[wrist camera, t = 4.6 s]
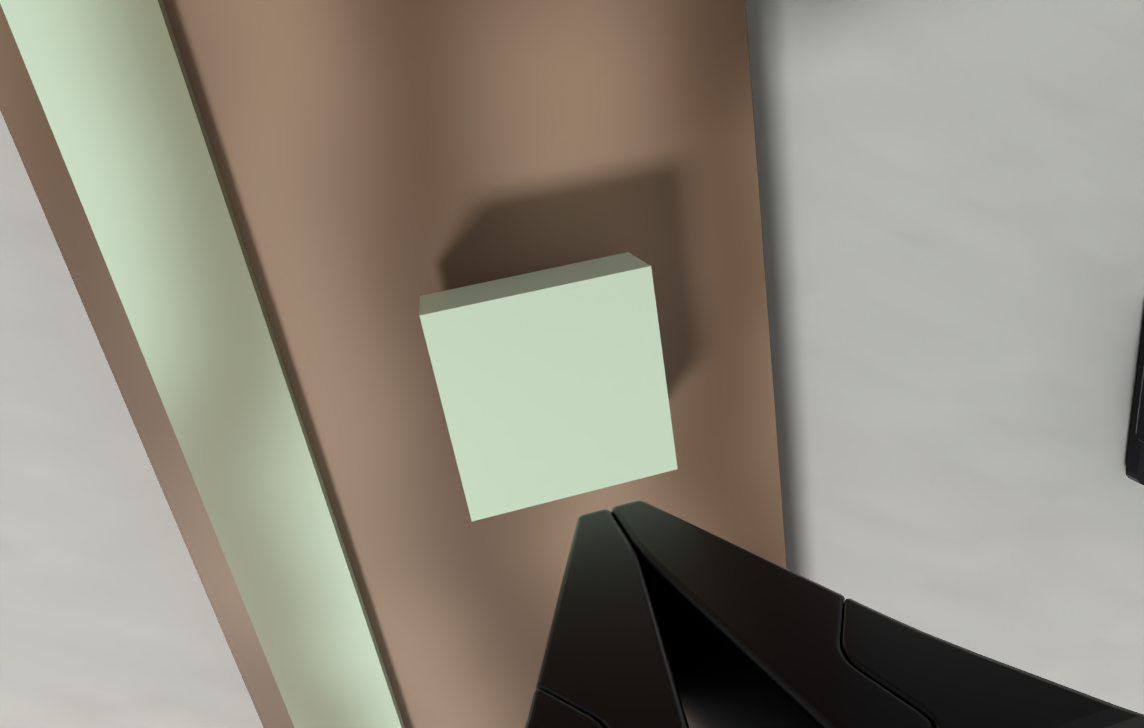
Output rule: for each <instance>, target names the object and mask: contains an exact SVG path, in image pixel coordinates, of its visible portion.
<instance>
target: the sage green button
mask: <svg viewBox="0 0 1144 728" xmlns="http://www.w3.org/2000/svg"><path fill="white" fill-rule="evenodd" d="M419 316H420V320H421V324H422V328H423V332H424V336H425V340H426V344H427V348H428V352H429V355H430V359H431V363H432V367H433V371H434V375H435V379H436V383H437V387H438V391H439V395H440V399H441V403H442V407H443V410H444V414H445V418H446V422H447V426H448V430H449V434H450V438H451V442H452V446H453V450H454V454H455V458H456V462H457V465H458V469H459V473H460V477H461V481H462V485H463V489H464V493H465V497H466V501H467V505H468V509H469V513H470V517H471V521H476V520H480V519H484V518H488V517H492V516H496V515H500V514H504V513H507V512H511V511H515V510H519V509H523V508H527V507H531V506H535V505H539V504H543V503H547V502H551V501H555V500H558V499H562V498H566V497H570V496H574V495H578V494H582V493H586V492H590V491H594V490H598V489H602V488H606V487H609V486H613V485H617V484H621V483H625V482H629V481H633V480H637V479H641V478H645V477H649V476H653V475H657V474H660V473H664V472H668V471H672V470H676V469H678V468H677V460H676V453H675V445H674V437H673V430H672V422H671V414H670V407H669V399H668V391H667V384H666V376H665V368H664V361H663V353H662V346H661V338H660V330H659V323H658V315H657V307H656V300H655V292H654V284H653V277H652V269H651V266H650V265H649V264H647V263H645V262H644V261H642V260H640V259H639V258H637V257H636V256H634V255H632V254H631V253H629V252H626V253H621V254H616V255H612V256H607V257H602V258H597V259H593V260H588V261H583V262H578V263H574V264H569V265H564V266H559V267H555V268H550V269H545V270H540V271H536V272H531V273H526V274H521V275H517V276H512V277H507V278H502V279H498V280H493V281H488V282H484V283H479V284H474V285H469V286H465V287H460V288H455V289H450V290H446V291H441V292H436V293H431V294H427V295H422V296H420V310H419Z"/></svg>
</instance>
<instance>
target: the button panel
mask: <svg viewBox="0 0 1144 728" xmlns="http://www.w3.org/2000/svg"><path fill="white" fill-rule="evenodd" d="M0 110H1V113H2V115H3V117H4V120H5V122H6V124H7V127H8V129H9V131H10V134H11V136H12V138H13V141H14V143H15V145H16V148H17V150H18V152H19V155H20V157H21V159H22V162H23V164H24V166H25V169H26V171H27V174H28V176H29V178H30V181H31V183H32V185H33V188H34V190H35V192H36V195H37V197H38V199H39V202H40V204H41V206H42V209H43V211H44V213H45V216H46V218H47V220H48V223H49V225H50V227H51V230H52V232H53V234H54V237H55V239H56V242H57V244H58V246H59V249H60V251H61V253H62V256H63V258H64V260H65V263H66V265H67V267H68V270H69V272H70V274H71V277H72V279H73V281H74V284H75V286H76V288H77V291H78V293H79V295H80V298H81V300H82V302H83V305H84V307H85V310H86V312H87V314H88V317H89V319H90V321H91V324H92V326H93V328H94V331H95V333H96V335H97V338H98V340H99V342H100V345H101V347H102V349H103V352H104V354H105V356H106V359H107V361H108V363H109V366H110V368H111V370H112V373H113V375H114V378H115V380H116V382H117V385H118V387H119V389H120V392H121V394H122V396H123V399H124V401H125V403H126V406H127V408H128V410H129V413H130V415H131V417H132V420H133V422H134V424H135V427H136V429H137V431H138V434H139V436H140V439H141V441H142V443H143V446H144V448H145V450H146V453H147V455H148V457H149V460H150V462H151V464H152V467H153V469H154V471H155V474H156V476H157V478H158V481H159V483H160V485H161V488H162V490H163V492H164V495H165V497H166V499H167V502H168V504H169V507H170V509H171V511H172V514H173V516H174V518H175V521H176V523H177V525H178V528H179V530H180V532H181V535H182V537H183V539H184V542H185V544H186V546H187V549H188V551H189V553H190V556H191V558H192V560H193V563H194V565H195V567H196V570H197V572H198V575H199V577H200V579H201V582H202V584H203V586H204V589H205V591H206V593H207V596H208V598H209V600H210V603H211V605H212V607H213V610H214V612H215V614H216V617H217V619H218V621H219V624H220V626H221V628H222V631H223V633H224V635H225V638H226V640H227V643H228V645H229V647H230V650H231V652H232V654H233V657H234V659H235V661H236V664H237V666H238V668H239V671H240V673H241V675H242V678H243V680H244V682H245V685H246V687H247V689H248V692H249V694H250V696H251V699H252V701H253V703H254V706H255V708H256V711H257V713H258V715H259V718H260V720H261V722H262V725H263V727H264V728H525V724H526V721H527V717H528V713H529V709H530V705H531V702H532V698H533V694H534V692H535V691H536V683H537V679H538V675H539V671H540V667H541V663H542V659H543V655H544V651H545V647H546V643H547V639H548V635H549V631H550V627H551V623H552V619H553V615H554V611H555V607H556V603H557V599H558V595H559V591H560V587H561V583H562V579H563V575H564V571H565V567H566V563H567V559H568V555H569V551H570V547H571V543H572V539H573V535H574V531H575V527H576V523H577V520H578V518H579V517H580V516H581V515H583V514H587V513H591V512H595V511H599V510H602V509H607V510H609V511H610V512H611V510H612V508H613V507H615V506H618V505H621V504H625V503H629V502H633V501H637V500H641V501H644V502H646V503H648V504H651V505H653V506H655V507H657V508H659V509H661V510H663V511H665V512H667V513H670V514H672V515H674V516H676V517H678V518H680V519H682V520H684V521H686V522H689V523H691V524H693V525H695V526H697V527H699V528H701V529H703V530H705V531H708V532H710V533H712V534H714V535H716V536H718V537H720V538H722V539H724V540H727V541H729V542H731V543H733V544H735V545H737V546H739V547H741V548H744V549H746V550H748V551H750V552H752V553H754V554H756V555H758V556H760V557H763V558H765V559H767V560H769V561H771V562H773V563H775V564H777V565H779V566H782V567H784V568H786V569H787V567H786V553H785V539H784V526H783V512H782V498H781V485H780V471H779V458H778V444H777V430H776V417H775V403H774V389H773V376H772V362H771V349H770V335H769V321H768V308H767V294H766V280H765V267H764V253H763V240H762V226H761V212H760V199H759V185H758V171H757V158H756V144H755V131H754V117H753V103H752V90H751V76H750V62H749V49H748V35H747V22H746V8H745V0H0ZM626 252H629V253H631V254H632V255H634V256H636V257H637V258H639V259H640V260H642V261H644V262H645V263H647V264H649V265H650V266H651V269H652V277H653V284H654V292H655V300H656V307H657V315H658V323H659V330H660V338H661V346H662V353H663V361H664V368H665V376H666V384H667V391H668V399H669V407H670V414H671V422H672V430H673V437H674V445H675V453H676V460H677V468H678V469H676V470H672V471H668V472H664V473H660V474H657V475H653V476H649V477H645V478H641V479H637V480H633V481H629V482H625V483H621V484H617V485H613V486H609V487H606V488H602V489H598V490H594V491H590V492H586V493H582V494H578V495H574V496H570V497H566V498H562V499H558V500H555V501H551V502H547V503H543V504H539V505H535V506H531V507H527V508H523V509H519V510H515V511H511V512H507V513H504V514H500V515H496V516H492V517H488V518H484V519H480V520H476V521H471V517H470V513H469V509H468V505H467V501H466V497H465V493H464V489H463V485H462V481H461V477H460V473H459V469H458V465H457V462H456V458H455V454H454V450H453V446H452V442H451V438H450V434H449V430H448V426H447V422H446V418H445V414H444V410H443V407H442V403H441V399H440V395H439V391H438V387H437V383H436V379H435V375H434V371H433V367H432V363H431V359H430V355H429V352H428V348H427V344H426V340H425V336H424V332H423V328H422V324H421V320H420V316H419V310H420V296H422V295H427V294H431V293H436V292H441V291H446V290H450V289H455V288H460V287H465V286H469V285H474V284H479V283H484V282H488V281H493V280H498V279H502V278H507V277H512V276H517V275H521V274H526V273H531V272H536V271H540V270H545V269H550V268H555V267H559V266H564V265H569V264H574V263H578V262H583V261H588V260H593V259H597V258H602V257H607V256H612V255H616V254H621V253H626Z"/></svg>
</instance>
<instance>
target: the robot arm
mask: <svg viewBox="0 0 1144 728" xmlns="http://www.w3.org/2000/svg"><path fill="white" fill-rule="evenodd" d="M1126 475H1127V476H1128V478H1130V479H1132V480H1134V481H1136V482H1138V483H1140V484H1142V485H1144V323H1143V331H1142V339H1141V347H1140V355H1139V364H1138V372H1137V380H1136V388H1135V396H1134V405H1133V413H1132V421H1131V429H1130V437H1129V446H1128V454H1127V462H1126ZM525 728H1144V715H1143V714H1140V713H1137V712H1134V711H1131V710H1128V709H1125V708H1122V707H1119V706H1116V705H1113V704H1111V703H1108V702H1105V701H1103V700H1100V699H1097V698H1095V697H1092V696H1089V695H1087V694H1084V693H1081V692H1079V691H1076V690H1073V689H1071V688H1068V687H1065V686H1063V685H1060V684H1057V683H1055V682H1052V681H1049V680H1047V679H1044V678H1041V677H1039V676H1036V675H1033V674H1031V673H1028V672H1025V671H1023V670H1020V669H1017V668H1015V667H1012V666H1009V665H1007V664H1004V663H1001V662H999V661H996V660H993V659H991V658H988V657H985V656H983V655H980V654H977V653H975V652H972V651H970V650H967V649H965V648H962V647H960V646H957V645H955V644H952V643H950V642H947V641H945V640H942V639H940V638H937V637H935V636H932V635H930V634H927V633H924V632H922V631H920V630H918V629H915V628H913V627H911V626H909V625H906V624H904V623H902V622H900V621H897V620H895V619H893V618H891V617H888V616H886V615H884V614H882V613H879V612H877V611H875V610H873V609H871V608H869V607H867V606H864V605H862V604H860V603H858V602H856V601H854V600H852V599H846V600H845V598H844V596H842V595H841V594H839V593H836V592H834V591H832V590H830V589H828V588H826V587H824V586H822V585H820V584H817V583H815V582H813V581H811V580H809V579H807V578H805V577H803V576H801V575H798V574H796V573H794V572H792V571H790V570H788V569H786V568H784V567H782V566H779V565H777V564H775V563H773V562H771V561H769V560H767V559H765V558H763V557H760V556H758V555H756V554H754V553H752V552H750V551H748V550H746V549H744V548H741V547H739V546H737V545H735V544H733V543H731V542H729V541H727V540H724V539H722V538H720V537H718V536H716V535H714V534H712V533H710V532H708V531H705V530H703V529H701V528H699V527H697V526H695V525H693V524H691V523H689V522H686V521H684V520H682V519H680V518H678V517H676V516H674V515H672V514H670V513H667V512H665V511H663V510H661V509H659V508H657V507H655V506H653V505H651V504H648V503H646V502H644V501H641V500H637V501H633V502H629V503H625V504H621V505H618V506H615V507H613V508H612V510H611V512H610V511H609V510H607V509H602V510H599V511H595V512H591V513H587V514H583V515H581V516H580V517H579V518H578V520H577V523H576V527H575V531H574V535H573V539H572V543H571V547H570V551H569V555H568V559H567V563H566V567H565V571H564V575H563V579H562V583H561V587H560V591H559V595H558V599H557V603H556V607H555V611H554V615H553V619H552V623H551V627H550V631H549V635H548V639H547V643H546V647H545V651H544V655H543V659H542V663H541V667H540V671H539V675H538V679H537V683H536V691H535V692H534V694H533V698H532V702H531V705H530V709H529V713H528V717H527V721H526V724H525Z"/></svg>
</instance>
